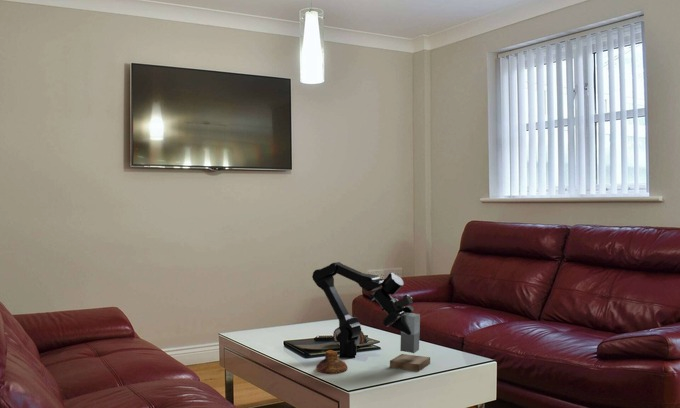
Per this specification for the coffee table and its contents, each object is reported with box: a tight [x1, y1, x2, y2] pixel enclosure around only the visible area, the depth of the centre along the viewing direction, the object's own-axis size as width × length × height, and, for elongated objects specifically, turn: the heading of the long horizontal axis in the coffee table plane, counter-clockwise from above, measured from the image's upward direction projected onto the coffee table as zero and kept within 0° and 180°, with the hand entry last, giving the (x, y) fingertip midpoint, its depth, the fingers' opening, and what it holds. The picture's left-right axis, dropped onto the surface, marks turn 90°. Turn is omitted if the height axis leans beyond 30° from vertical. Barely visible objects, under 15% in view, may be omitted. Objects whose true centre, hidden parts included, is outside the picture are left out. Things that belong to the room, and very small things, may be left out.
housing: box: [399, 312, 421, 354], centre depth 242 cm, size 6×6×14 cm
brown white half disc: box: [333, 326, 366, 345], centre depth 275 cm, size 15×3×8 cm, turn 58°
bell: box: [315, 349, 348, 375], centre depth 237 cm, size 12×12×7 cm
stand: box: [389, 353, 431, 372], centre depth 242 cm, size 12×12×2 cm
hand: (413, 332), depth 241 cm, fingers closed on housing, 5 cm apart
